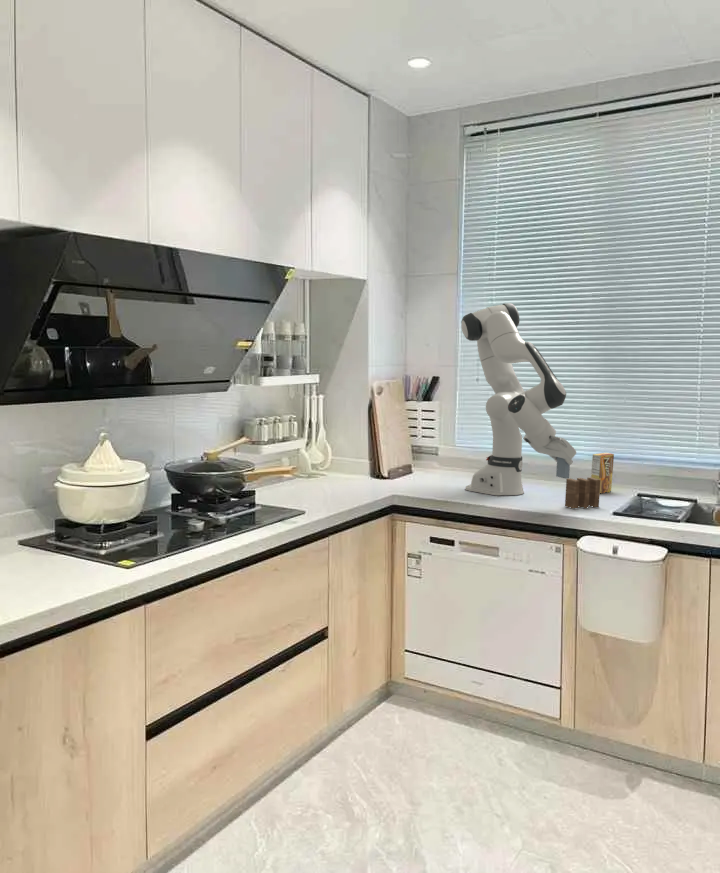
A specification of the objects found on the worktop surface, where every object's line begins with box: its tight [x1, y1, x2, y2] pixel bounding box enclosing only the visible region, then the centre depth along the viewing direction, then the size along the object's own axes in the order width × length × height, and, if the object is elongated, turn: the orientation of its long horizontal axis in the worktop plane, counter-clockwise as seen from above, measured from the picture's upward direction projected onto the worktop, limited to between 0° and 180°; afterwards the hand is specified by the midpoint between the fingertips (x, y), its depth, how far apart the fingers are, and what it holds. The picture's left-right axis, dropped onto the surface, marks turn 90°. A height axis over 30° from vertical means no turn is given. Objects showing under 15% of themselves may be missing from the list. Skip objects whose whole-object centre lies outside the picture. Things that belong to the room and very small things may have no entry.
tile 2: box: [564, 478, 579, 509], centre depth 279 cm, size 2×5×10 cm, turn 22°
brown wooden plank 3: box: [576, 477, 590, 509], centre depth 281 cm, size 2×5×10 cm, turn 22°
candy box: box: [590, 452, 615, 494], centre depth 309 cm, size 9×4×15 cm, turn 129°
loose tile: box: [555, 457, 571, 480], centre depth 276 cm, size 2×5×10 cm, turn 22°
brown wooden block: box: [586, 476, 601, 508], centre depth 282 cm, size 2×5×10 cm, turn 22°
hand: (564, 462), depth 276 cm, fingers closed on loose tile, 5 cm apart
